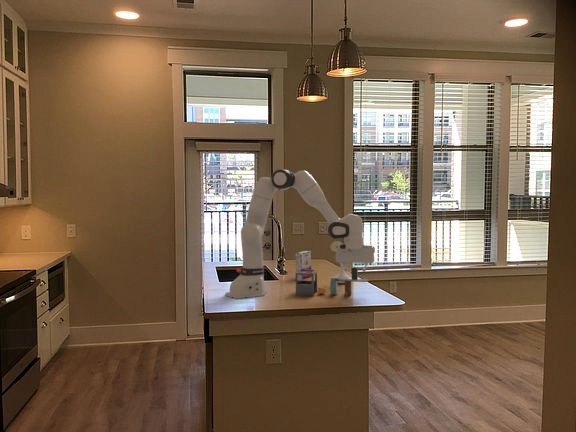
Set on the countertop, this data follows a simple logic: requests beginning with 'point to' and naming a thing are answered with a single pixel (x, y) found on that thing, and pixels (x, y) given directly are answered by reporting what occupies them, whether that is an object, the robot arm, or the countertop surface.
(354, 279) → the rod
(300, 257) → the candy bar box
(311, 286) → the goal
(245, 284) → the robot arm
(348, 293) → the rod cradle
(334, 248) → the flower in vase
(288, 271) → the countertop surface
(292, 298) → the countertop surface
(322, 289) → the ball
